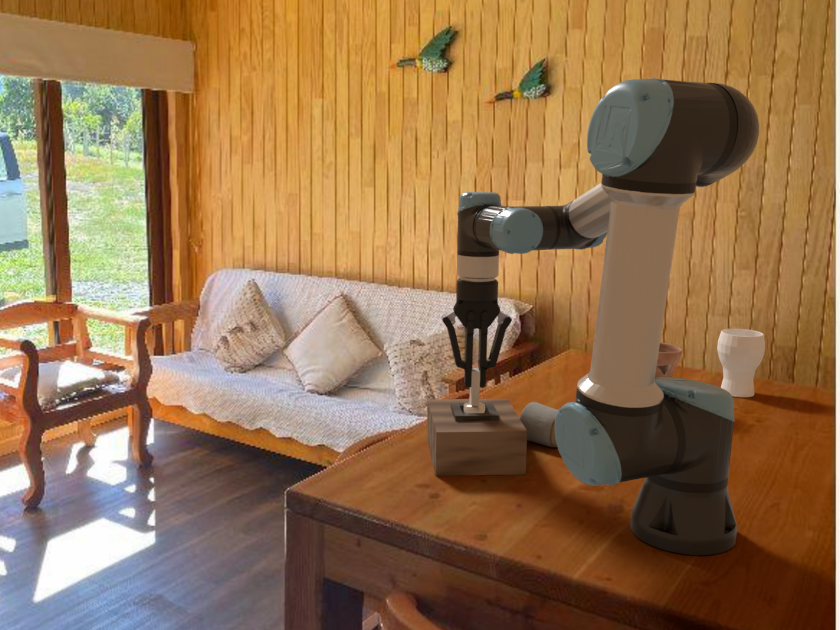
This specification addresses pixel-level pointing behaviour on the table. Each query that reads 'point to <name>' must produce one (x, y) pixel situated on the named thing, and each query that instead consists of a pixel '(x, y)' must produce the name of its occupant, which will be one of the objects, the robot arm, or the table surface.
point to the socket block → (475, 438)
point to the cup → (740, 359)
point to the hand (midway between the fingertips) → (474, 403)
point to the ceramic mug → (539, 423)
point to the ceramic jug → (667, 360)
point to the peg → (474, 408)
